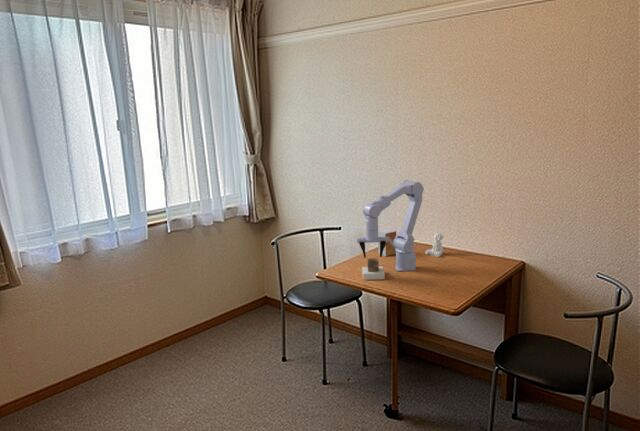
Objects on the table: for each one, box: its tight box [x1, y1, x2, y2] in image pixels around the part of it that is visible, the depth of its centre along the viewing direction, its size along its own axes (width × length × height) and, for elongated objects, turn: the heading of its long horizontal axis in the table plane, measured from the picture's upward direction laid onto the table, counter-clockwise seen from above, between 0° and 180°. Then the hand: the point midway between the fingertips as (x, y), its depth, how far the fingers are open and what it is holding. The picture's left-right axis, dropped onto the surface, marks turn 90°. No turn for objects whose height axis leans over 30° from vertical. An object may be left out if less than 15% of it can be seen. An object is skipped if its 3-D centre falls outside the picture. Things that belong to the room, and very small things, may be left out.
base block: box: [361, 265, 386, 281], centre depth 226 cm, size 10×10×3 cm
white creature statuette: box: [424, 232, 444, 258], centre depth 253 cm, size 10×9×12 cm
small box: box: [377, 228, 397, 257], centre depth 258 cm, size 8×6×13 cm
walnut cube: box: [366, 257, 380, 272], centre depth 225 cm, size 5×5×5 cm
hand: (372, 256), depth 224 cm, fingers open, 7 cm apart
